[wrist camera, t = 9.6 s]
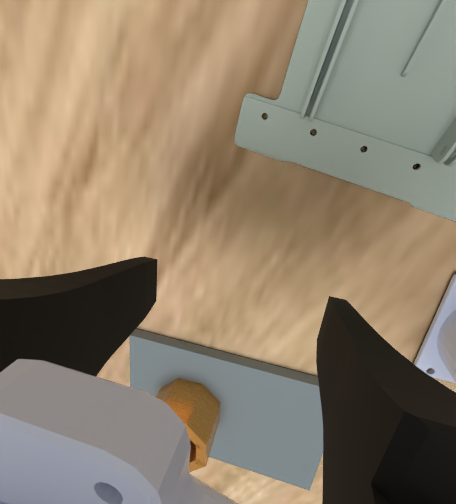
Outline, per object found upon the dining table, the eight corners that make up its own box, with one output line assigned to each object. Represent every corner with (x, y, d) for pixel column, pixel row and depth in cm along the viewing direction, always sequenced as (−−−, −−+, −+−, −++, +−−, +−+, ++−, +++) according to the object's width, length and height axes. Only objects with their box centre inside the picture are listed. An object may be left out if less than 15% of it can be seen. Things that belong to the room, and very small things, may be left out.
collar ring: (221, 388, 25) (207, 430, 22) (218, 434, 27) (205, 480, 24) (160, 373, 26) (137, 410, 23) (161, 419, 28) (140, 459, 25)
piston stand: (342, 383, 23) (353, 457, 18) (309, 479, 28) (310, 561, 22) (135, 328, 27) (91, 376, 21) (136, 422, 31) (100, 481, 26)
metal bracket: (311, -252, 9) (870, -150, 8) (323, -161, 14) (678, -84, 12) (221, 169, 18) (463, 256, 17) (245, 142, 23) (440, 209, 21)
